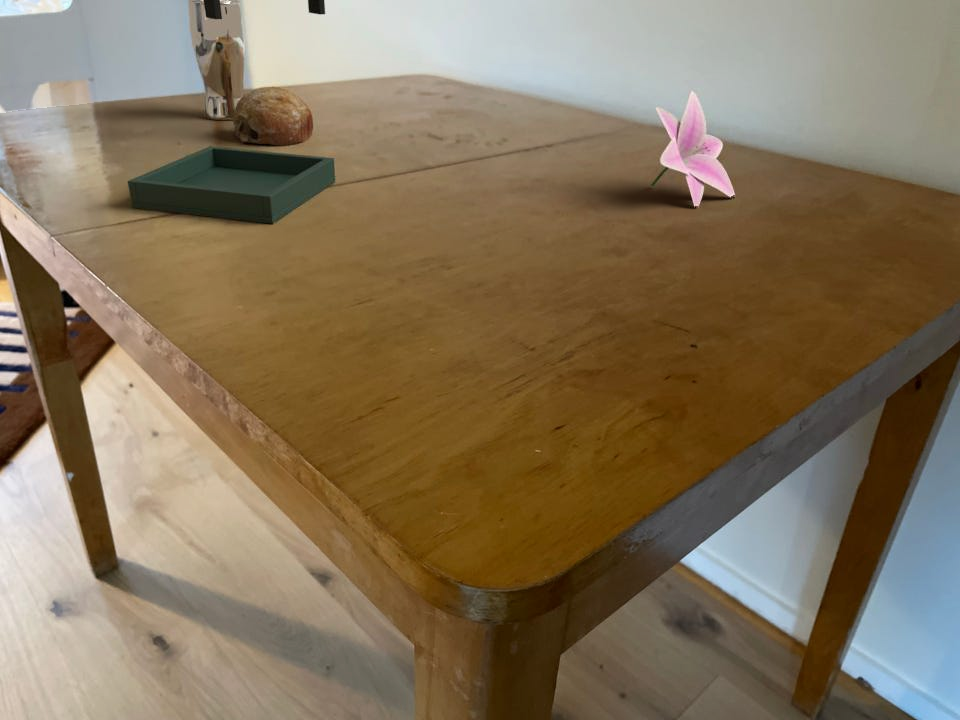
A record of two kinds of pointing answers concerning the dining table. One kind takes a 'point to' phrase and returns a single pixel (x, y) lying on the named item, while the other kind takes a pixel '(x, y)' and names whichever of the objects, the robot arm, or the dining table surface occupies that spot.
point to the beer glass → (219, 56)
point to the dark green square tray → (233, 184)
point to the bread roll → (272, 117)
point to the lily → (694, 151)
